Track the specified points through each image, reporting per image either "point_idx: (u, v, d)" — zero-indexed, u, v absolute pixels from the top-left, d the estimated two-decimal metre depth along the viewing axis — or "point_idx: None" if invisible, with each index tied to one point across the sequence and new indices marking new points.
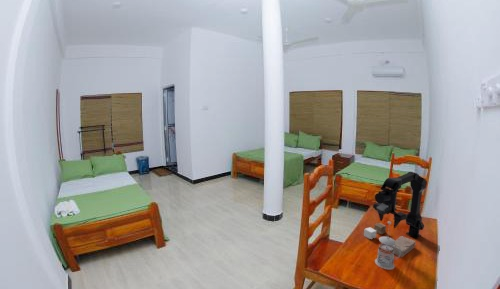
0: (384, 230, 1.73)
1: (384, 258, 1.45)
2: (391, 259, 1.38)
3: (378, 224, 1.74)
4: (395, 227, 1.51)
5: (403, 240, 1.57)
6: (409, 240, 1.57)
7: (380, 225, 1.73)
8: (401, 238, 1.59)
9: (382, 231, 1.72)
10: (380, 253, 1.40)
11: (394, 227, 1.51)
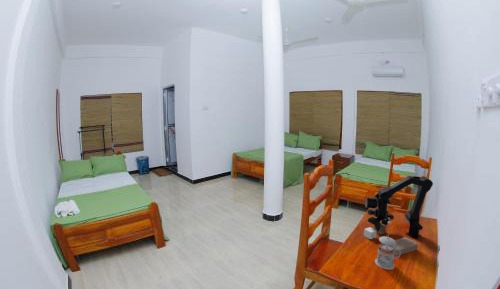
0: (384, 230, 1.73)
1: (384, 258, 1.45)
2: (391, 259, 1.38)
3: None
4: (377, 231, 1.73)
5: (405, 241, 1.57)
6: (411, 241, 1.55)
7: None
8: (403, 239, 1.59)
9: (382, 231, 1.72)
10: (380, 253, 1.40)
11: (376, 230, 1.73)
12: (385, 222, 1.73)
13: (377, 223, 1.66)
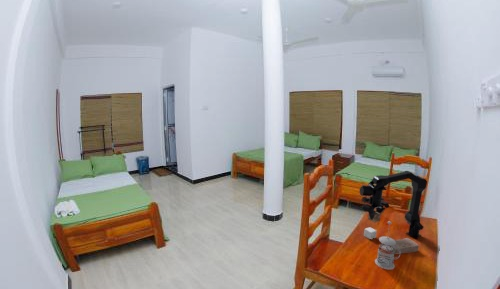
0: (378, 218, 1.67)
1: (384, 258, 1.45)
2: (391, 259, 1.38)
3: None
4: (371, 219, 1.67)
5: (406, 241, 1.56)
6: (412, 243, 1.54)
7: None
8: (405, 239, 1.58)
9: (376, 219, 1.66)
10: (380, 253, 1.40)
11: (370, 218, 1.68)
12: (380, 210, 1.67)
13: (371, 210, 1.61)
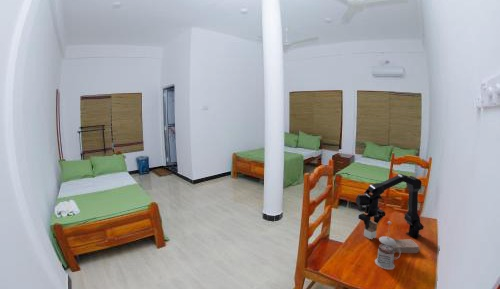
0: (375, 228, 1.66)
1: (384, 258, 1.45)
2: (391, 259, 1.38)
3: None
4: (366, 228, 1.65)
5: (407, 242, 1.55)
6: (413, 244, 1.53)
7: (371, 222, 1.66)
8: (407, 240, 1.57)
9: (373, 229, 1.65)
10: (380, 253, 1.40)
11: None
12: (377, 218, 1.67)
13: (367, 220, 1.59)
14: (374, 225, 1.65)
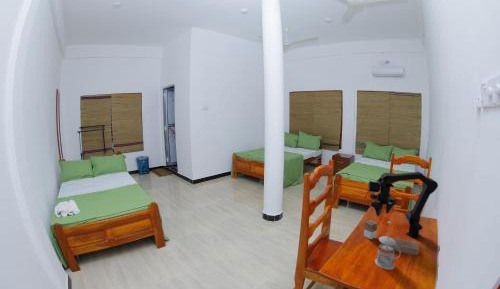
0: (375, 228, 1.66)
1: (384, 258, 1.45)
2: (391, 259, 1.38)
3: (369, 221, 1.67)
4: None
5: (408, 243, 1.54)
6: (414, 246, 1.51)
7: (371, 222, 1.66)
8: (410, 242, 1.55)
9: (373, 229, 1.65)
10: (380, 253, 1.40)
11: None
12: (390, 206, 1.73)
13: (380, 207, 1.65)
14: (374, 225, 1.65)
